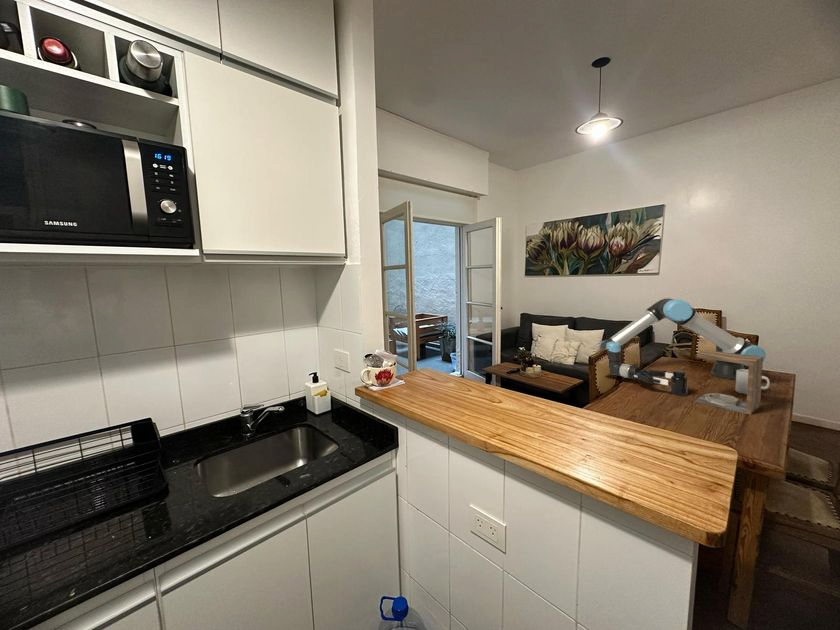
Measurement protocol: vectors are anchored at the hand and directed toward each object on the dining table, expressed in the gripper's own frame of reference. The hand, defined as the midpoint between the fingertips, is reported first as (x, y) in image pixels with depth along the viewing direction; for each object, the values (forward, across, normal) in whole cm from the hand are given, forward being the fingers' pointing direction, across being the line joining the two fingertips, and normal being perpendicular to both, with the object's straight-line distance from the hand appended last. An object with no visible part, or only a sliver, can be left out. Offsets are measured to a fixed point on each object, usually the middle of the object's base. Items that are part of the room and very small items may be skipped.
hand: (674, 380), depth 170 cm
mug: (+23, -28, -7) cm, 37 cm away
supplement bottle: (+2, 0, -7) cm, 7 cm away
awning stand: (+21, -1, -7) cm, 22 cm away
